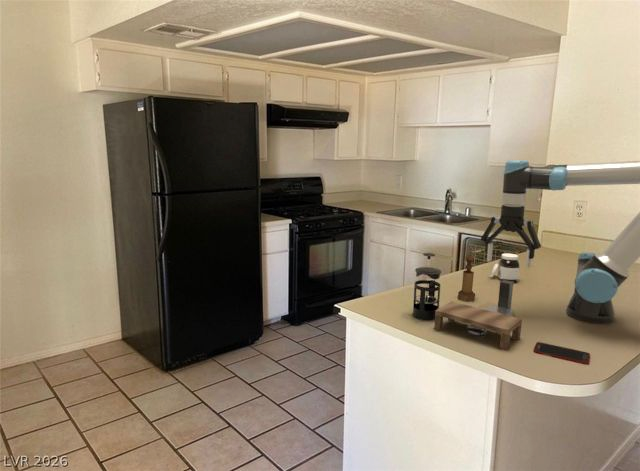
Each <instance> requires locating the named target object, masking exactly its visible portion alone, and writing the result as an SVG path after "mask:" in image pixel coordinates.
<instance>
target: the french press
mask: <svg viewBox="0 0 640 471" xmlns="http://www.w3.org/2000/svg"><path fill="white" fill-rule="evenodd" d="M422 255H423V256H425V257H427V262H428V263H427V267H426V266H422V267H421V266H420V267H417V268H415V272H416V275H415V276H416V277H419V276H421V275H424V276H425V275H426V277H427V278H426V280H425V279H422V280H416V281H414V286H413V287H414V289H413V291H414V292H413V305H412V306H413V308H412V313H411V316H412V317H413V318H414V319H417V320H420V321H424V322H425V321H426V322H429V321H430V322H432V321H435V310H437V309H439V308H440V296H441V284H440V283H439V282H437V281H436V280H439V279H440V276H441V274H442V270H440V269H439V268H435V267H431V266H430V260H431V257H436V254H435V253H432V252H424V253H422ZM429 278H430V279H429ZM421 284H422V285H424V284H426V287H424V286H420V285H421ZM418 290H419V291H420V294H419V295H417V291H418ZM435 292H437V297H436V296H435V295H436V293H435ZM416 302H417V303H416ZM436 304H437V305H436Z"/></svg>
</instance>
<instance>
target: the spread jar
mask: <svg viewBox="0 0 640 471" xmlns="http://www.w3.org/2000/svg"><path fill="white" fill-rule="evenodd" d="M518 259H519V255H517V254H514V253H502V254H501V258H500V259H499V261H498V263H495V264H494V265H493V268H492V271H491V272H490V273H489V278H491V279H493V277H494V274H495V273H496V271H497V278H498V280H499V281H500V280H501V281H503V280H507V281H512V282H513V283H516V282H517V281H518V280H519V277H520V268H521V267H520V263H519V260H518ZM501 281H500V282H501Z"/></svg>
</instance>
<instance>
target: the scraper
mask: <svg viewBox="0 0 640 471" xmlns="http://www.w3.org/2000/svg"><path fill="white" fill-rule="evenodd" d="M513 289H514V282H512V281H507V280H503V281H500V282H499V291H498V301H497V305H494V304H490V305H488V306H487V307H486V308H483V309H484V310H488V311H492V312H496V313H500V314H504V315H508V316H512V317H514V309H512V300H513V291H514V290H513Z"/></svg>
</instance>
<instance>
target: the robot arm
mask: <svg viewBox="0 0 640 471" xmlns="http://www.w3.org/2000/svg"><path fill="white" fill-rule="evenodd" d="M502 184H503V185H502V196H501V204H502V205H501V208H500V209H501V210H500V217H498V216H492V217H491V218H490V223H489V224H488V226H487V228H486V229H485V230H484V233H483V234H482V236H481V237H480V241H482V242H484V243H485V249H484V250H485V252H487V254H486V256H487V257H486V262H491V261H493V249H494V248H493V247H494V242H492V241H493V240H494V239H496V238H497V237H498V236H499V235H500V234H501V233H502V232H504V231H505V232H512V233H517V234H518V235H519V236H520V238H521V239H522V240H523V242H524V243H525V245H526V246H527V249H526V256H525V266H524V268H525V269H529V268H530V267H531V262H532V261H531V260H533V259H534V257H535V251H536V250H538V249H541V247H542V245H541V243H540V240H539V238H538V235H537V233H536V231H535V226H534V220H532V219H530V220H525V218H524V216H525V206H524V205H526V196H527V189H529V190H545V191H552V192H553V191H564V190H565V189H566V188H567V187H570V186H571V187H572V186H609V185H617V186H618V185H640V160H632V161H631V160H629V161H627V160H626V161H609V162H590V163H571V164H569V163H567V164H548V165H545V166H530V162H529V161H528V160H524V159H523V160H520V159H519V160H518V159H514V160H513V159H512V160H511V159H510V160H507V161H506V162H505V165H504V172H503V183H502ZM498 223H499V224H500V226H499V227H498V228H497V229H496V230H495V231H494V232H493V233H492V234H491V232H492V231H493V229H494V227H495V226H496V224H498ZM524 225H525V227H526V228H527V231H528V234H529V236H530V237H529V236H528V235H527V233H526V231H525V228H523V226H524ZM490 234H491V235H490ZM489 235H490V236H489ZM638 259H640V211H639V212H638V213H637V214H636V215H635V217H633V219H632V220H631V221H630V222H629V223H628V224H627V225H626V226H625V228H624V229H623V230H622V231H621V232H620V233H619V234H618V235H617V236H616V238H615V239H614V240H613V241H612V242H611V243H610V244H609V245H608V247H606V249H605V250H604V251H603V252H597V253H596V252H580V253H579V254H578V258H577V266H576V268H577V269H576V274H575V279H574V291H573V294H572V296H571V298H570V299H569V301H568V303H567V305H566V310H565V312H566V314H567V315H568V316H569V317H571V318H573V319H575V320H579V321H582V322H587V323H591V324H593V323H594V324H610V323H613V322H614V321H615V315H616V314H615V309H614V305H613V300H612V299H613V298H614V297H615V296H616V293H617V292H618V289H619V287H620V286H621V285H622V284H623V283H624V282H625V281H626V280H627V279H628V278H629V277H630V272H629V269H630V268H631V267H632V266H633V265H634V263H636V262H637V261H638Z"/></svg>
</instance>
